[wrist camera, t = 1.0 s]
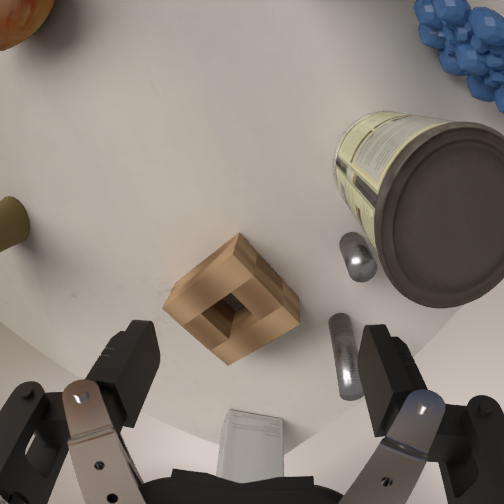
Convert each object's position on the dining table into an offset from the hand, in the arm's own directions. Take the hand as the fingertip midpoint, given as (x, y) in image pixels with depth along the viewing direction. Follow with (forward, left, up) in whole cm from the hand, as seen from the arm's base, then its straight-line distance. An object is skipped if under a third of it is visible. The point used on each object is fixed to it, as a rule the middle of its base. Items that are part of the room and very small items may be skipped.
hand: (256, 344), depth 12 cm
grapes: (-22, -1, -19) cm, 29 cm away
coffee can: (-10, +4, -19) cm, 22 cm away
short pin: (-3, +8, -19) cm, 21 cm away
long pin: (+3, +15, -19) cm, 24 cm away
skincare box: (+23, +24, -19) cm, 38 cm away
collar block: (+9, +5, -19) cm, 21 cm away
